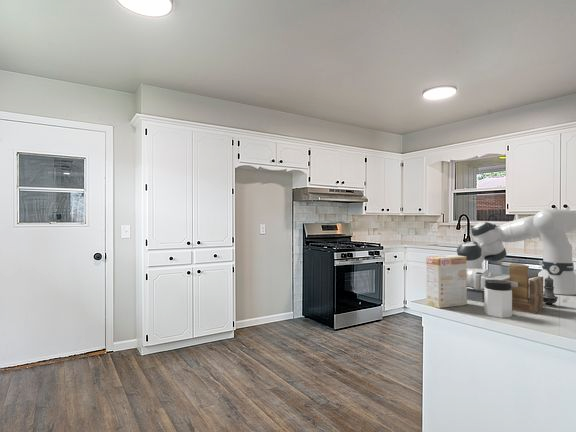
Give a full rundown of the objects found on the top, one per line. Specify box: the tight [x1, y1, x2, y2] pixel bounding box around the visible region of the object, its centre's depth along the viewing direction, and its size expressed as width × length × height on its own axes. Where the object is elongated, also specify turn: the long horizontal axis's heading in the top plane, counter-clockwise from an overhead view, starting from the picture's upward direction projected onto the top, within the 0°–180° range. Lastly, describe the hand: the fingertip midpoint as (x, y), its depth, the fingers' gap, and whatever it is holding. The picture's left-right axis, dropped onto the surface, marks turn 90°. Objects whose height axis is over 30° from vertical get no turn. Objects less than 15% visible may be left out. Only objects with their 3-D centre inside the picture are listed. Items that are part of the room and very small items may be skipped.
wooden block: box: [509, 263, 530, 300], centre depth 144 cm, size 2×6×16 cm, turn 42°
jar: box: [483, 280, 513, 319], centre depth 131 cm, size 9×8×12 cm
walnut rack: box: [512, 276, 544, 314], centre depth 142 cm, size 13×13×12 cm
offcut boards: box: [512, 298, 529, 304], centre depth 141 cm, size 3×10×4 cm, turn 42°
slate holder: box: [467, 287, 484, 303], centre depth 157 cm, size 8×10×4 cm
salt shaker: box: [543, 276, 559, 308], centre depth 145 cm, size 6×6×12 cm
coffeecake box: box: [425, 254, 468, 309], centre depth 146 cm, size 15×7×20 cm, turn 113°
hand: (520, 284), depth 144 cm, fingers closed on wooden block, 2 cm apart
